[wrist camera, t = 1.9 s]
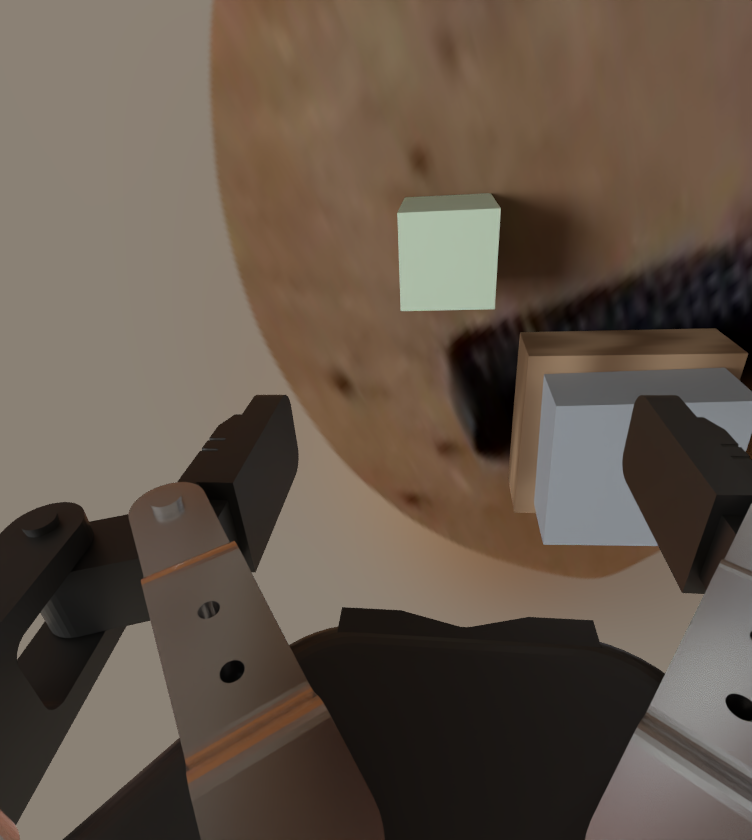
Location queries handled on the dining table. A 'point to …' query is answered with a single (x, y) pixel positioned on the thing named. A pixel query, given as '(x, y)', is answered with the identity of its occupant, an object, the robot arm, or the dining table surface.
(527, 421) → the walnut base slab
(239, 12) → the dining table surface
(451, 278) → the sage block
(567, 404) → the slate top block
